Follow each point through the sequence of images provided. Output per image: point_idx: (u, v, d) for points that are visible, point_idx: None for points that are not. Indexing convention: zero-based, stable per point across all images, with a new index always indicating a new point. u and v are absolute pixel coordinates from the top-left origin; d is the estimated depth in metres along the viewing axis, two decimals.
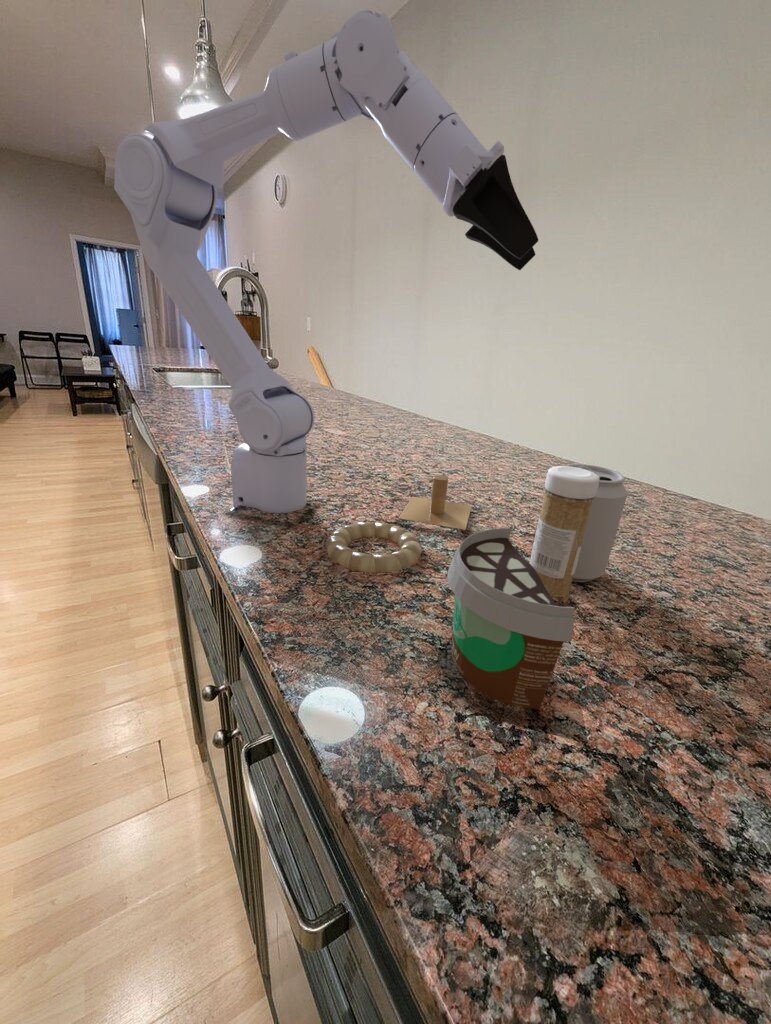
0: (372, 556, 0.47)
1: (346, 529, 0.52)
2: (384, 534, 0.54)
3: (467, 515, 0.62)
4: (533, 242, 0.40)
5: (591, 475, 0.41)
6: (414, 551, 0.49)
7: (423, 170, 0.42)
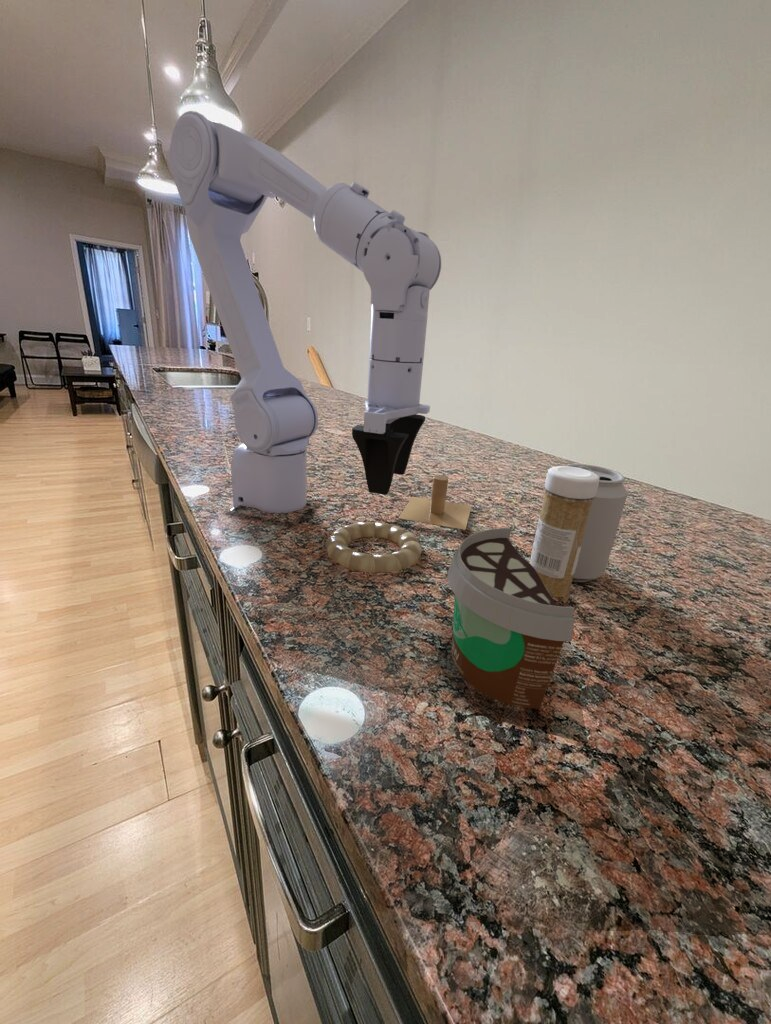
0: (372, 556, 0.47)
1: (346, 529, 0.52)
2: (384, 534, 0.54)
3: (467, 515, 0.62)
4: (382, 493, 0.48)
5: (591, 475, 0.41)
6: (414, 551, 0.49)
7: (370, 370, 0.46)
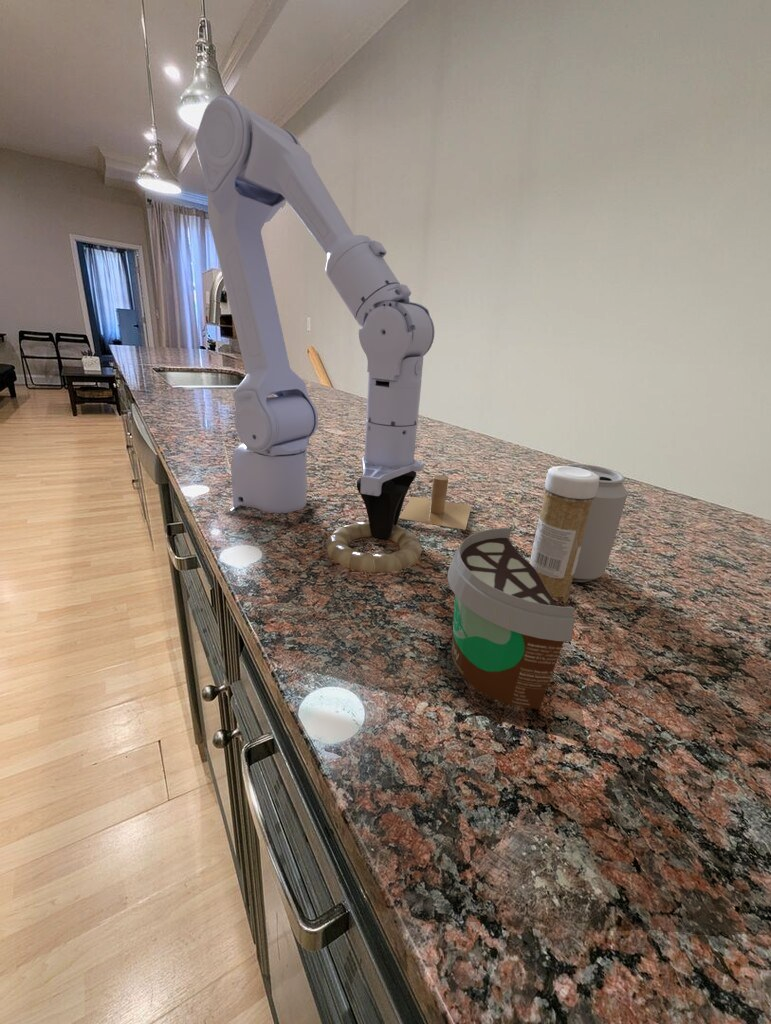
0: (372, 556, 0.47)
1: (346, 529, 0.52)
2: None
3: (467, 515, 0.62)
4: (384, 537, 0.53)
5: (591, 475, 0.41)
6: (414, 551, 0.49)
7: (367, 431, 0.49)
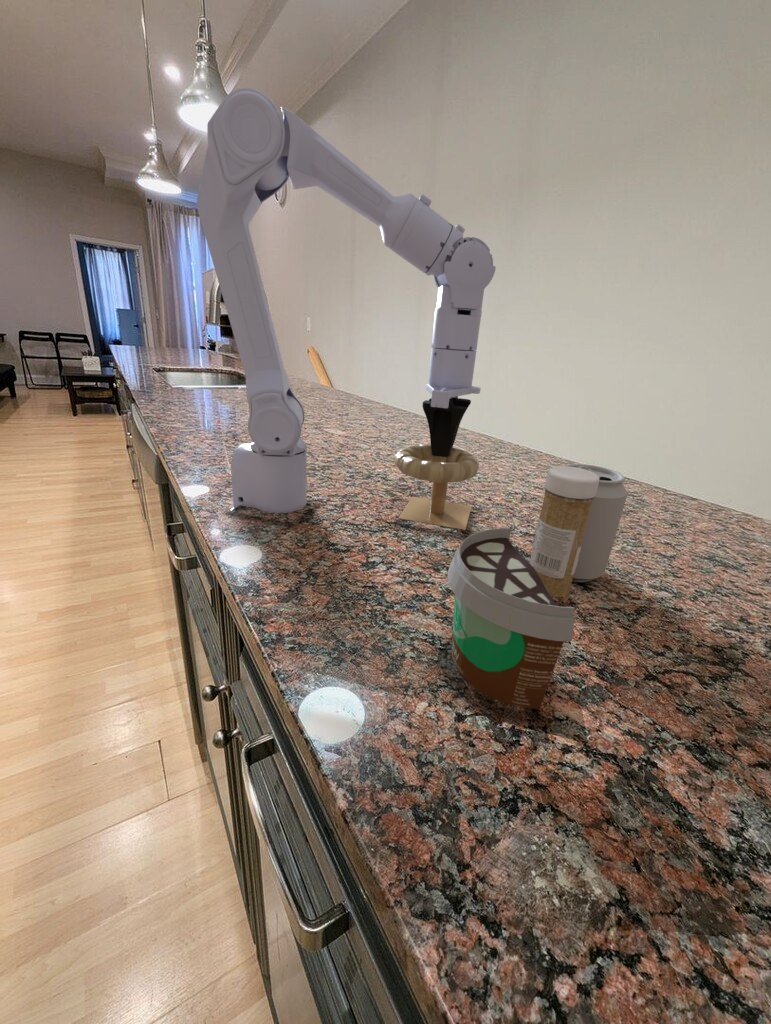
0: (440, 463, 0.54)
1: (410, 448, 0.60)
2: None
3: (467, 515, 0.62)
4: (443, 455, 0.60)
5: (591, 475, 0.41)
6: (474, 462, 0.56)
7: (432, 357, 0.56)
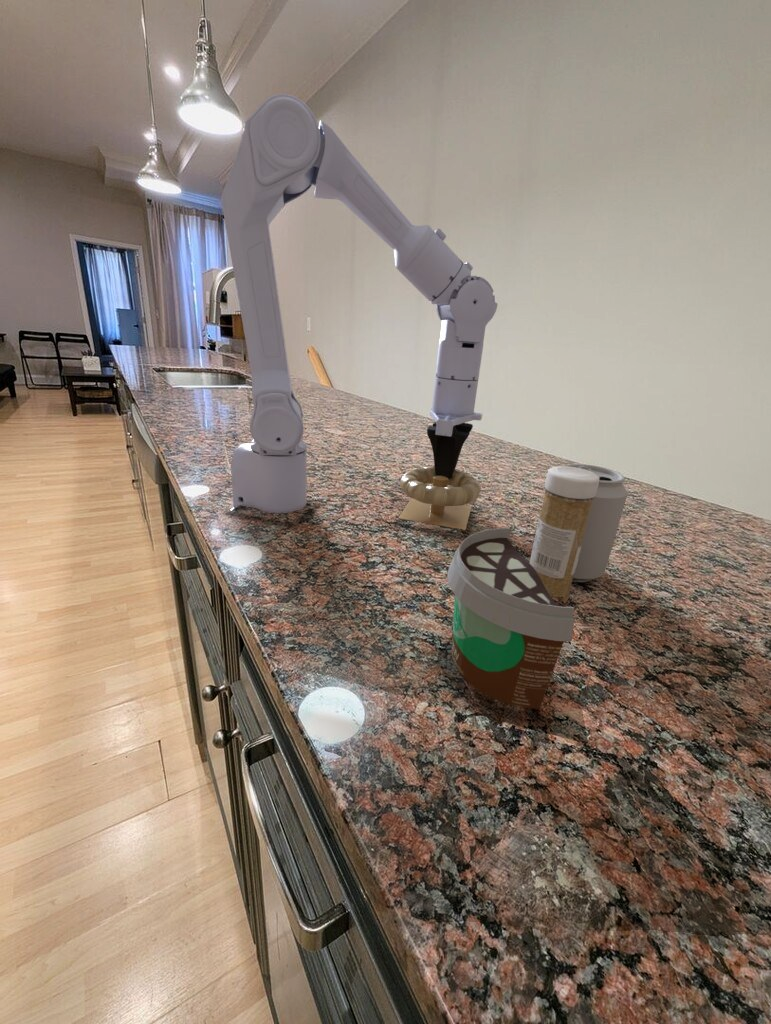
0: (443, 488, 0.57)
1: (415, 471, 0.62)
2: None
3: (467, 515, 0.62)
4: None
5: (591, 475, 0.41)
6: (476, 486, 0.59)
7: (436, 386, 0.59)
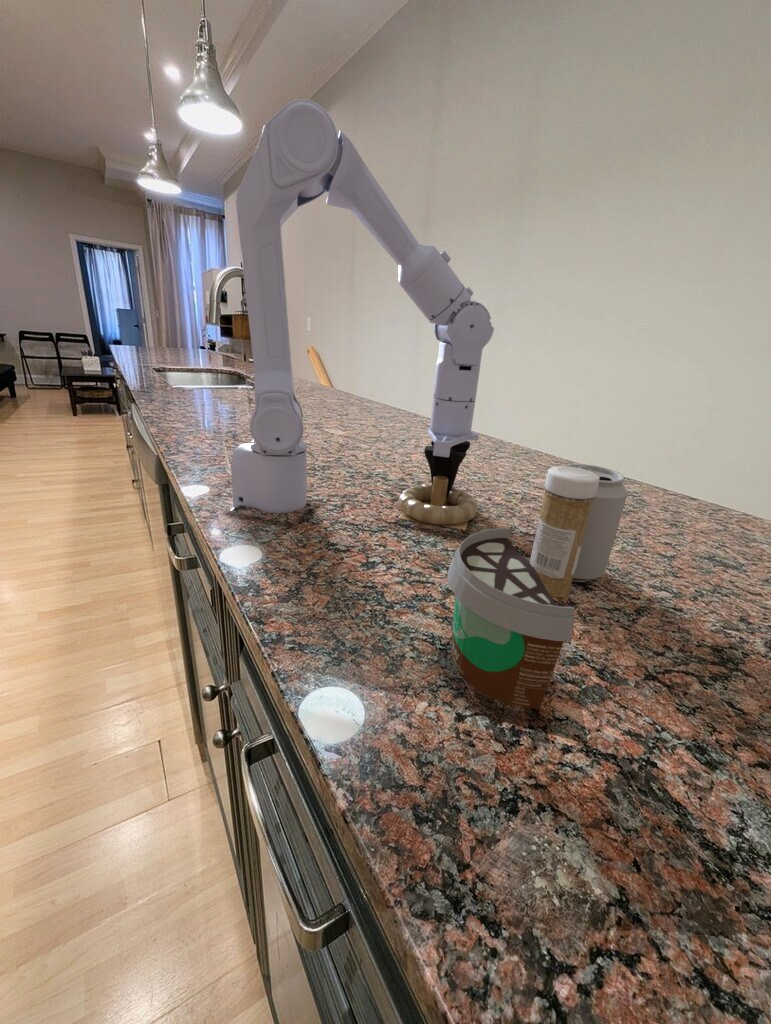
0: (441, 507, 0.58)
1: (413, 489, 0.63)
2: None
3: None
4: None
5: (591, 475, 0.41)
6: (473, 504, 0.60)
7: (434, 407, 0.60)
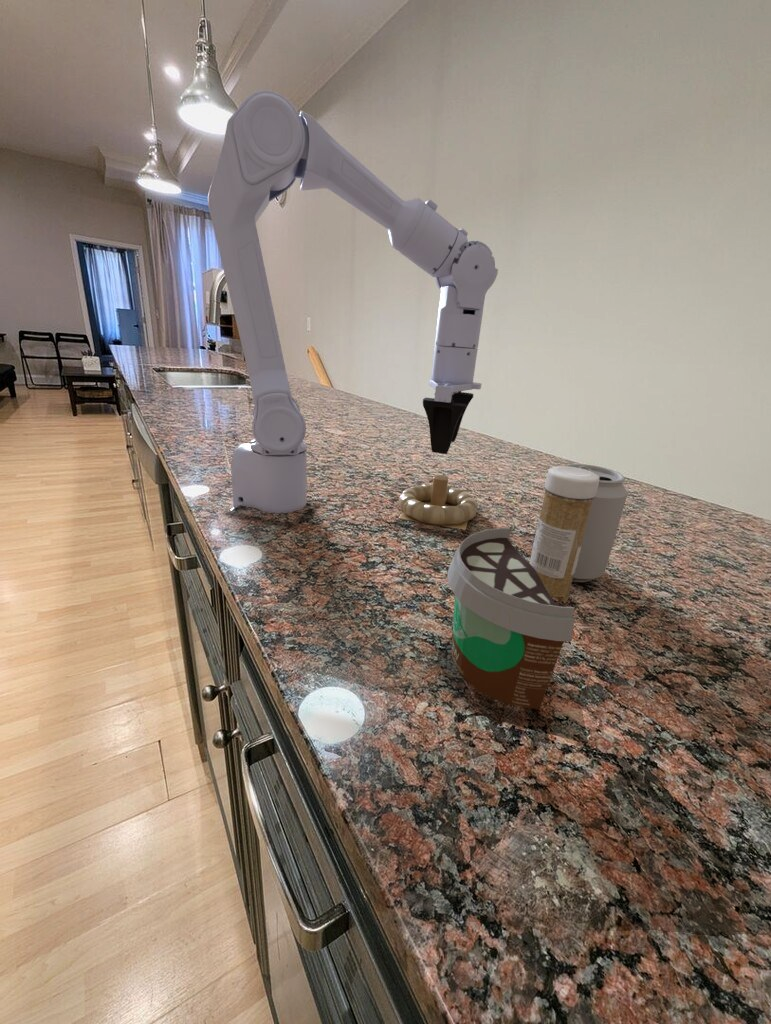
0: (441, 507, 0.58)
1: (413, 489, 0.63)
2: None
3: None
4: (443, 452, 0.61)
5: (591, 475, 0.41)
6: (473, 504, 0.60)
7: (436, 354, 0.59)
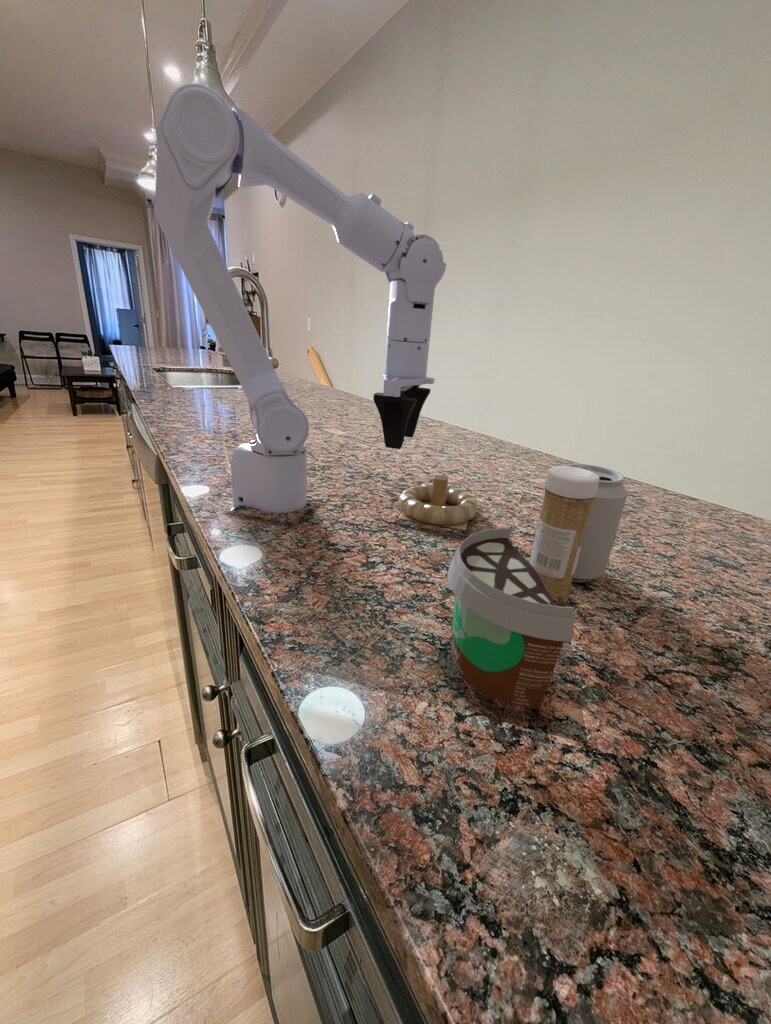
0: (441, 507, 0.58)
1: (413, 489, 0.63)
2: None
3: None
4: (396, 447, 0.61)
5: (591, 475, 0.41)
6: (473, 504, 0.60)
7: (387, 349, 0.59)
